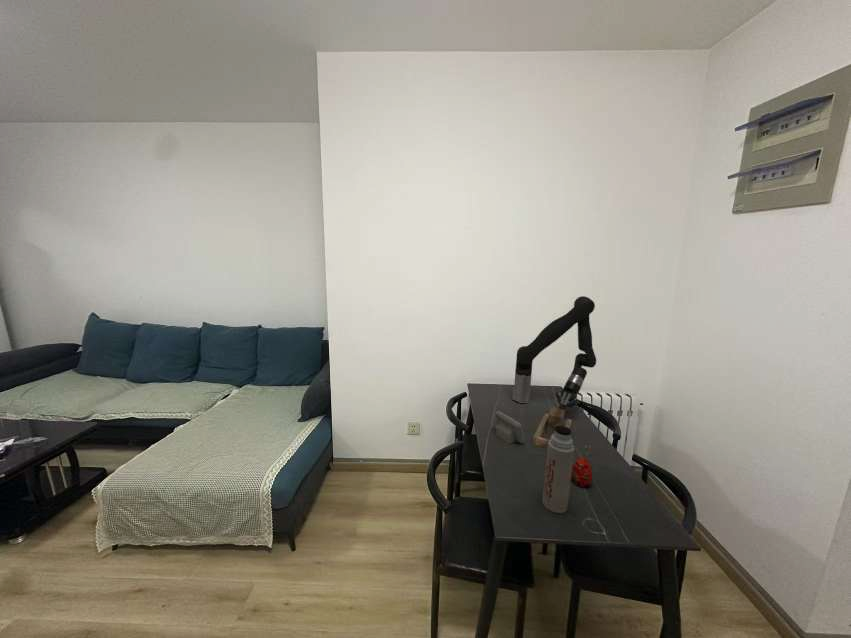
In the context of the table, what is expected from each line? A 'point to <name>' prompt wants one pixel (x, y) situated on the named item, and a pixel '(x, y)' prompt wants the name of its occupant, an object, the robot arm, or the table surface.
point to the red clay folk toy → (582, 471)
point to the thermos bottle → (558, 470)
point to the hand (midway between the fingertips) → (560, 411)
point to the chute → (537, 437)
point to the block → (555, 419)
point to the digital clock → (508, 429)
